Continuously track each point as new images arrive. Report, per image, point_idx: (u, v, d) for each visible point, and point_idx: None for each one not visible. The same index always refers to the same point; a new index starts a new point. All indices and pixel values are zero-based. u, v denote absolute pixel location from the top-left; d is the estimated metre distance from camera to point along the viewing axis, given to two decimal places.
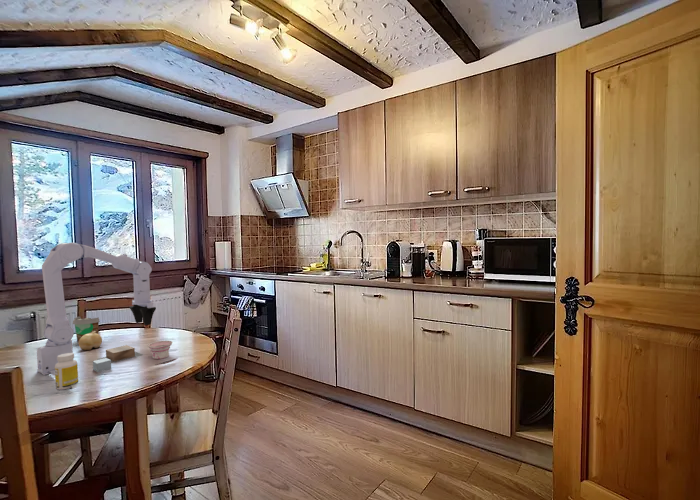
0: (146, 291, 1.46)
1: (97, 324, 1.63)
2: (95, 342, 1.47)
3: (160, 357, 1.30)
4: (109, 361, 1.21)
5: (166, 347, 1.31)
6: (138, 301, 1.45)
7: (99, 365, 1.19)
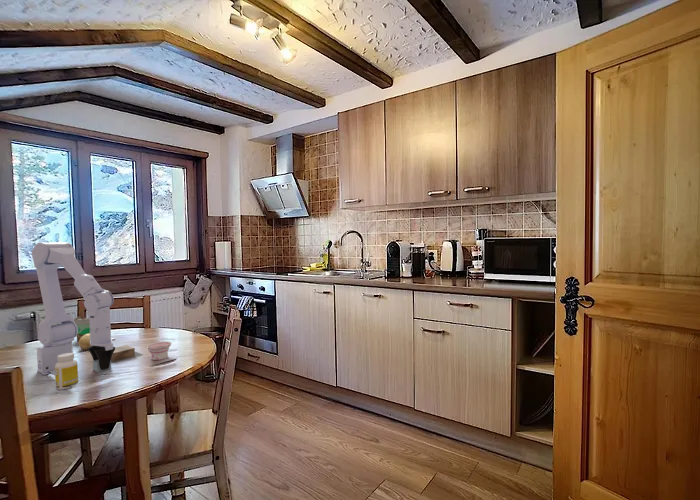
0: (105, 329, 1.20)
1: None
2: None
3: (159, 358, 1.29)
4: None
5: (165, 348, 1.30)
6: (95, 341, 1.18)
7: (99, 365, 1.19)
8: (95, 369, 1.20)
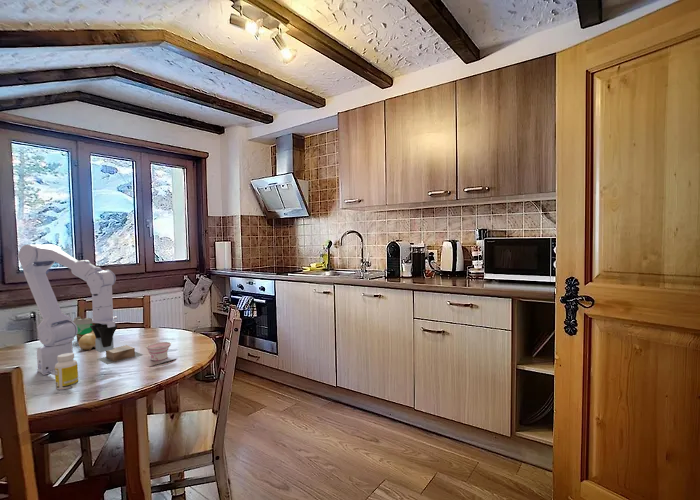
0: (107, 307, 1.22)
1: None
2: None
3: (158, 359, 1.29)
4: None
5: (165, 349, 1.29)
6: (97, 319, 1.20)
7: (101, 342, 1.21)
8: (97, 346, 1.22)
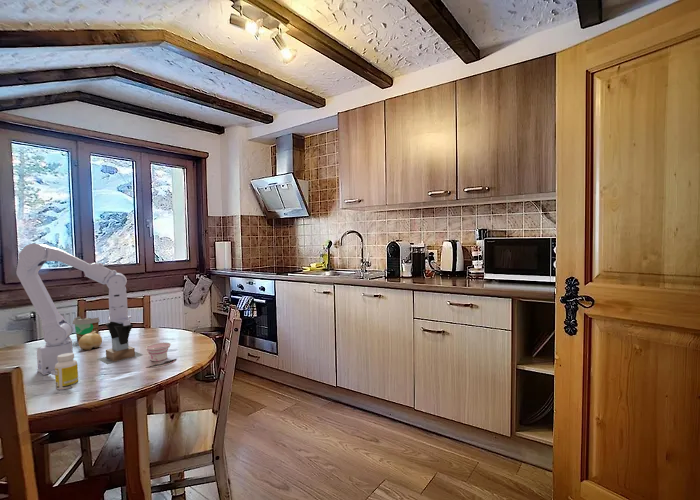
0: (123, 307, 1.32)
1: (97, 324, 1.63)
2: (95, 342, 1.47)
3: (158, 359, 1.28)
4: None
5: (164, 349, 1.29)
6: (114, 318, 1.31)
7: (117, 342, 1.31)
8: (114, 346, 1.32)
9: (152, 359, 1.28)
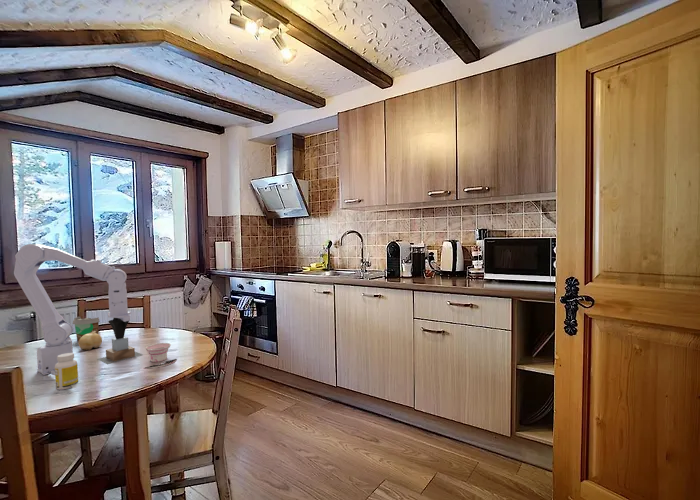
0: (122, 302, 1.32)
1: (97, 324, 1.63)
2: (95, 342, 1.47)
3: (158, 360, 1.27)
4: (126, 339, 1.34)
5: (164, 350, 1.28)
6: (113, 314, 1.31)
7: (117, 342, 1.31)
8: (114, 346, 1.32)
9: (152, 360, 1.27)
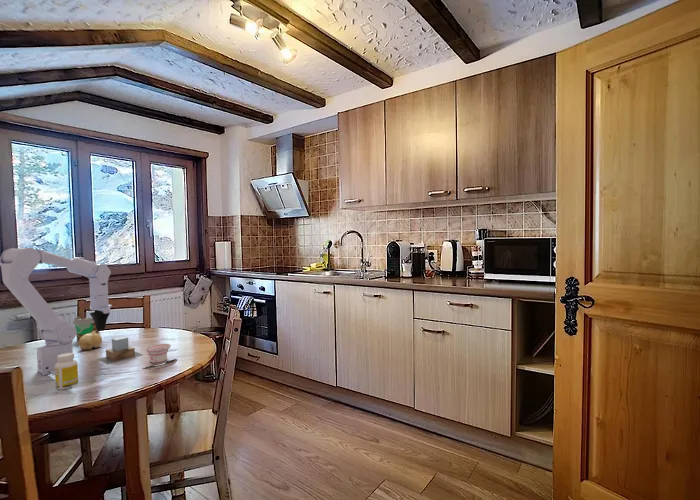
0: (103, 295, 1.38)
1: None
2: (95, 342, 1.47)
3: (158, 361, 1.26)
4: (126, 339, 1.34)
5: (164, 350, 1.27)
6: (94, 306, 1.36)
7: (117, 342, 1.31)
8: (114, 346, 1.32)
9: (152, 360, 1.26)
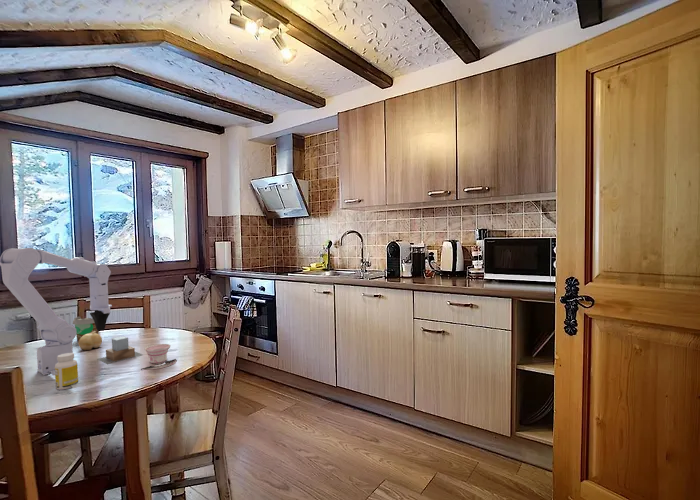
0: (103, 295, 1.38)
1: None
2: (95, 342, 1.47)
3: (158, 361, 1.26)
4: (126, 339, 1.34)
5: (164, 351, 1.27)
6: (94, 306, 1.36)
7: (117, 342, 1.31)
8: (114, 346, 1.32)
9: (151, 361, 1.26)
